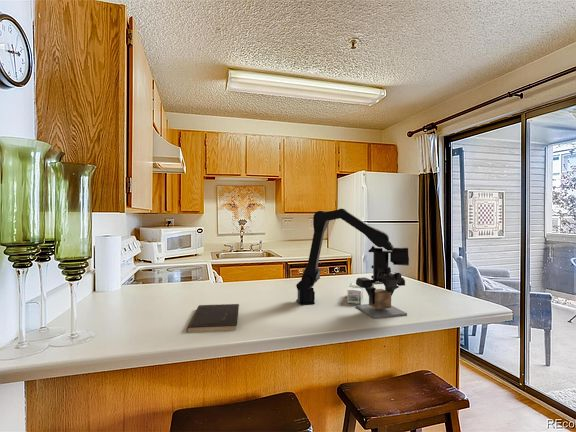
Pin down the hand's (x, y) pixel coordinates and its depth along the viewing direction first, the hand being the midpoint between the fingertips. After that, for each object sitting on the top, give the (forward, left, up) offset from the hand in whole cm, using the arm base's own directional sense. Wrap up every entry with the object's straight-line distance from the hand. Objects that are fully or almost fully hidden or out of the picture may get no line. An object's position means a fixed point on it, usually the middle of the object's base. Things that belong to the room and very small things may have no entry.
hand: (380, 303), depth 120 cm
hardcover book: (-63, +7, -4) cm, 63 cm away
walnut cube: (0, 0, -1) cm, 1 cm away
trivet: (0, 0, -3) cm, 3 cm away
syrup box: (+2, +23, 0) cm, 23 cm away
